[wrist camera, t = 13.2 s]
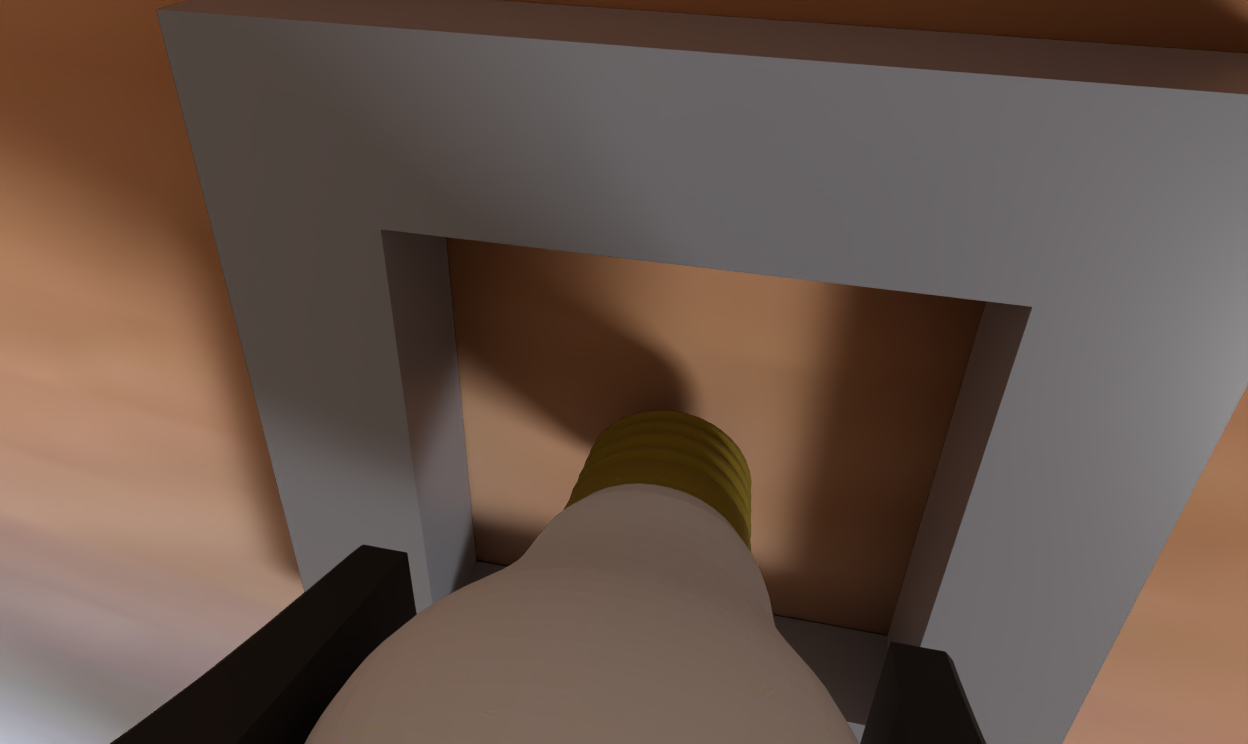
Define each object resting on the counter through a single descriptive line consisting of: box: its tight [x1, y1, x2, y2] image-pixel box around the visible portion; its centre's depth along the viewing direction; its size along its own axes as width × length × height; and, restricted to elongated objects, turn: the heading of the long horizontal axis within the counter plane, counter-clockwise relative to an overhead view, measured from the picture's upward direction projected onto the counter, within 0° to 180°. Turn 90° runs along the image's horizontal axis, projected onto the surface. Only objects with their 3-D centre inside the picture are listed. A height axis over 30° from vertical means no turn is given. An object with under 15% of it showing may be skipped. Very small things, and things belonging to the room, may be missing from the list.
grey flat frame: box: [156, 0, 1248, 744], centre depth 12 cm, size 17×13×2 cm
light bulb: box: [305, 410, 859, 744], centre depth 10 cm, size 6×6×10 cm
